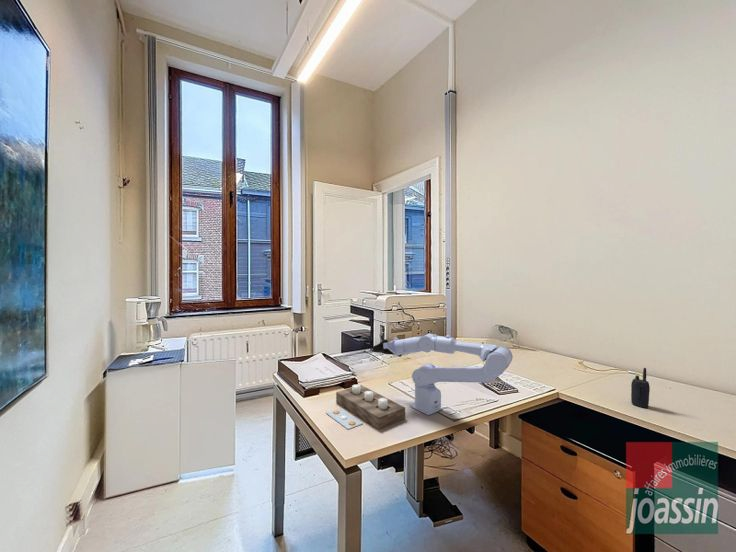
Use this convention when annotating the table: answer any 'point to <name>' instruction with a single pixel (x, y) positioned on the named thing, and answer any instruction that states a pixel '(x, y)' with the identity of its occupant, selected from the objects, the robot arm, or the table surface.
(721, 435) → the table surface
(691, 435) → the table surface
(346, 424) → the pattern card
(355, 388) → the button
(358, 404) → the button box
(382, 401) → the button
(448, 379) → the robot arm
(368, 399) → the middle button
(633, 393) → the two-way radio
